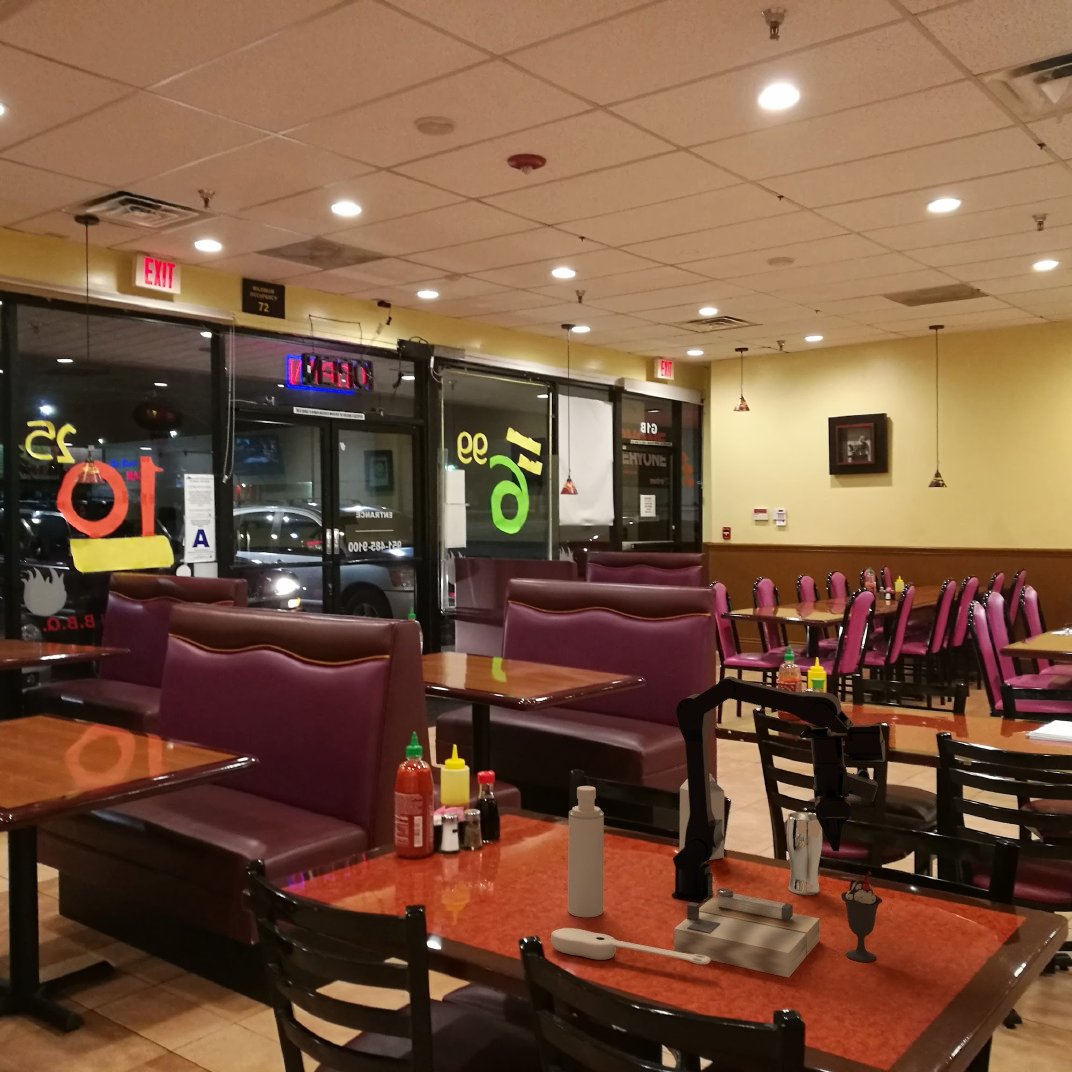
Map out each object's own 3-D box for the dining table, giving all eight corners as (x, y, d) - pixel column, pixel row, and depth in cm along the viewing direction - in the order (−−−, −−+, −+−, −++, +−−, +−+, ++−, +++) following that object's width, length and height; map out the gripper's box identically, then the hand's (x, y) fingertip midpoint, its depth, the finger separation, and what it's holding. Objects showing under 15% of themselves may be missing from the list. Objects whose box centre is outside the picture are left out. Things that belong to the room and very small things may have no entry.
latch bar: (715, 906, 189) (715, 891, 189) (720, 901, 191) (720, 887, 191) (788, 920, 182) (788, 905, 182) (792, 915, 184) (792, 901, 184)
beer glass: (818, 885, 214) (819, 812, 214) (824, 896, 207) (825, 821, 207) (784, 883, 215) (784, 811, 215) (788, 895, 208) (789, 820, 208)
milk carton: (698, 863, 228) (698, 776, 228) (679, 854, 235) (679, 769, 235) (724, 858, 232) (724, 773, 232) (704, 849, 238) (705, 766, 238)
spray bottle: (610, 911, 198) (611, 779, 198) (587, 920, 194) (588, 785, 194) (583, 902, 203) (584, 774, 203) (560, 911, 198) (561, 779, 198)
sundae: (876, 967, 173) (877, 877, 173) (836, 958, 177) (836, 870, 177) (886, 954, 179) (886, 866, 179) (846, 945, 182) (847, 860, 182)
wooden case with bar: (674, 951, 179) (674, 913, 179) (712, 919, 195) (712, 884, 195) (788, 977, 169) (788, 937, 169) (819, 941, 185) (819, 904, 185)
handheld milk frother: (714, 971, 172) (715, 953, 172) (705, 984, 167) (705, 966, 166) (559, 940, 184) (559, 924, 184) (545, 952, 178) (545, 935, 178)
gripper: (876, 769, 186) (884, 858, 185) (869, 750, 204) (876, 831, 203) (812, 771, 188) (819, 858, 188) (810, 752, 207) (817, 831, 206)
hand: (835, 844), depth 196 cm, fingers open, 9 cm apart
